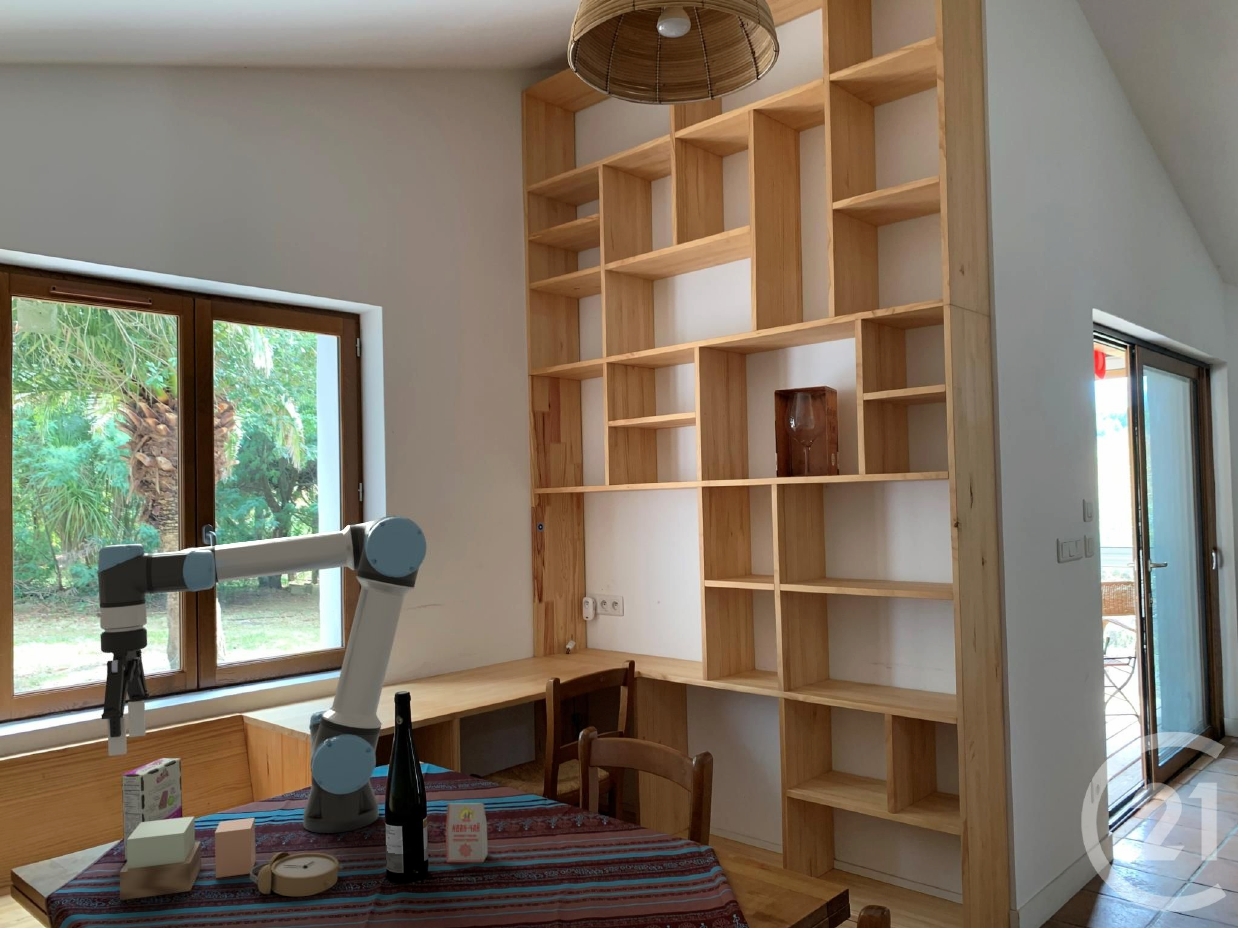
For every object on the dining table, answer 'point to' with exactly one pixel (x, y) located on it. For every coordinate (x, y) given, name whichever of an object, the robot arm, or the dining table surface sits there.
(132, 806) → the candy bar box
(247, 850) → the block
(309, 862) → the alarm clock
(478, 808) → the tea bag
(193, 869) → the tower lower
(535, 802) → the dining table surface
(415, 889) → the dining table surface
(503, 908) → the dining table surface
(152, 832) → the tower upper
